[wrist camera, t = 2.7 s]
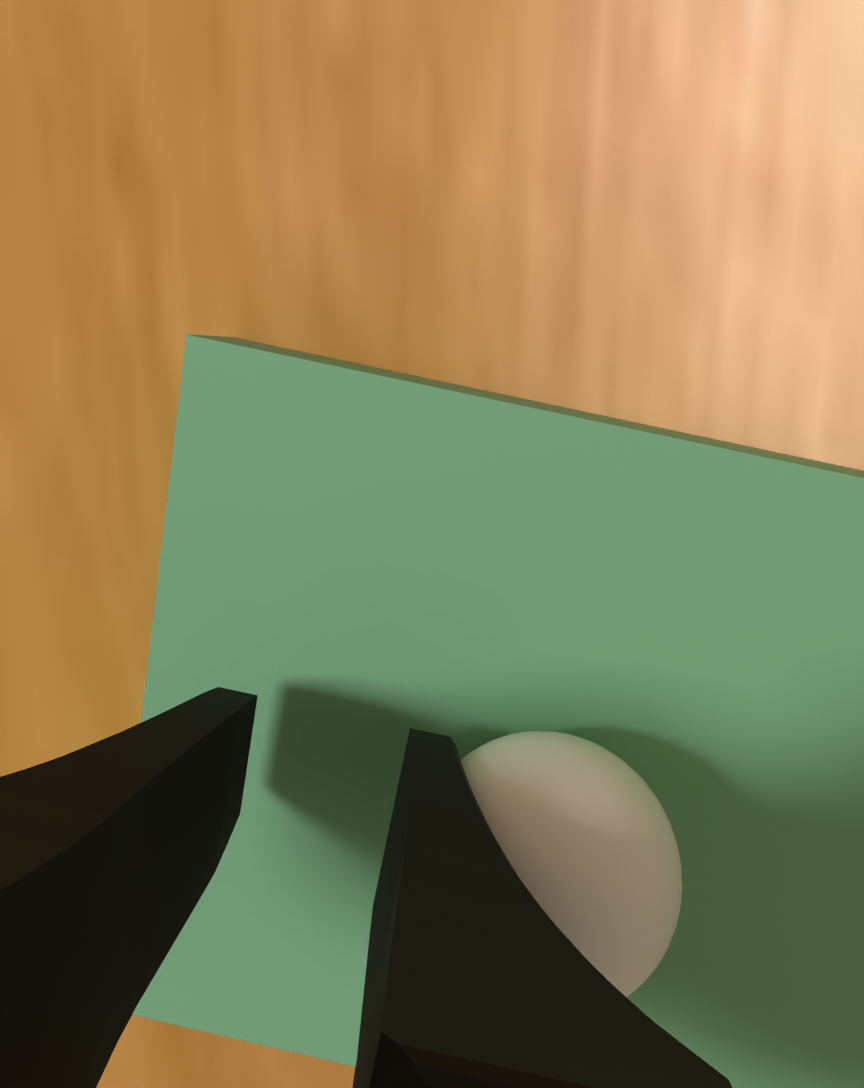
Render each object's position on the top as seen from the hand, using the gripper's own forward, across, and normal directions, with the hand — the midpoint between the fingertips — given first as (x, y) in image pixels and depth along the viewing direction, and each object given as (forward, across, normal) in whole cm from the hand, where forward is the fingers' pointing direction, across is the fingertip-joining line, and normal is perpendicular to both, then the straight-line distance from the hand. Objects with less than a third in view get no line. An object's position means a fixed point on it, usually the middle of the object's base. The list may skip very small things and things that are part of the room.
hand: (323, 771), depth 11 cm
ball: (+1, -3, 0) cm, 3 cm away
